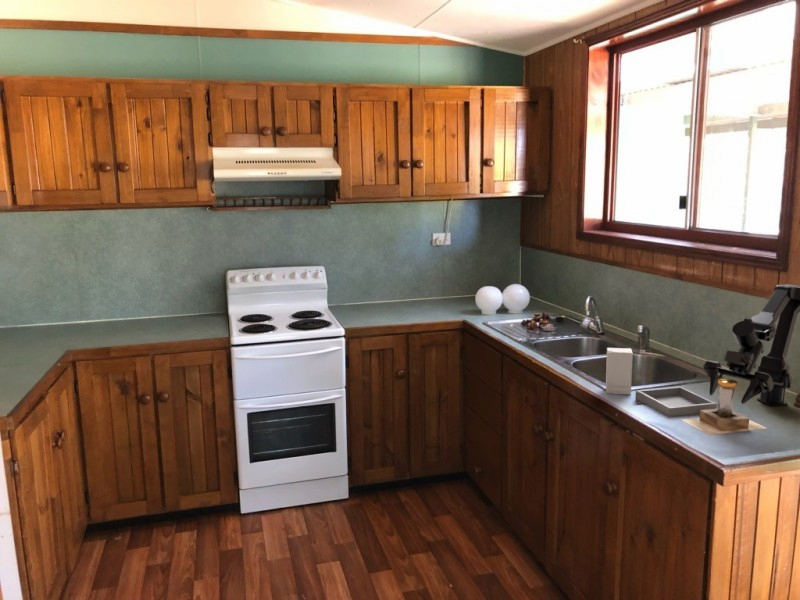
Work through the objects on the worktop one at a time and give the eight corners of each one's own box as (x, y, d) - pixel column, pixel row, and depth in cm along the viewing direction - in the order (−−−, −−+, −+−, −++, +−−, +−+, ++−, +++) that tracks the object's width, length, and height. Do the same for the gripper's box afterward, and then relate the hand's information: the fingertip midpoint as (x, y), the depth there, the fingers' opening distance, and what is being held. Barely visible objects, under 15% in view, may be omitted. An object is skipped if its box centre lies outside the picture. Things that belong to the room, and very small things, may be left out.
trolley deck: (736, 416, 205) (737, 404, 205) (766, 431, 194) (768, 418, 193) (680, 422, 200) (681, 410, 199) (708, 438, 189) (709, 424, 188)
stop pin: (724, 419, 200) (728, 378, 198) (737, 426, 195) (741, 383, 193) (709, 421, 199) (713, 379, 196) (722, 428, 194) (726, 385, 191)
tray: (679, 396, 224) (680, 386, 223) (715, 414, 208) (716, 403, 207) (635, 400, 219) (636, 390, 219) (668, 419, 203) (669, 408, 203)
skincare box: (629, 390, 230) (632, 348, 227) (631, 395, 224) (634, 352, 221) (604, 388, 232) (606, 346, 229) (604, 393, 226) (607, 350, 223)
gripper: (709, 334, 203) (687, 375, 198) (774, 346, 189) (752, 392, 184) (718, 355, 209) (697, 395, 204) (782, 368, 195) (761, 413, 190)
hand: (726, 398), depth 195 cm, fingers open, 9 cm apart
